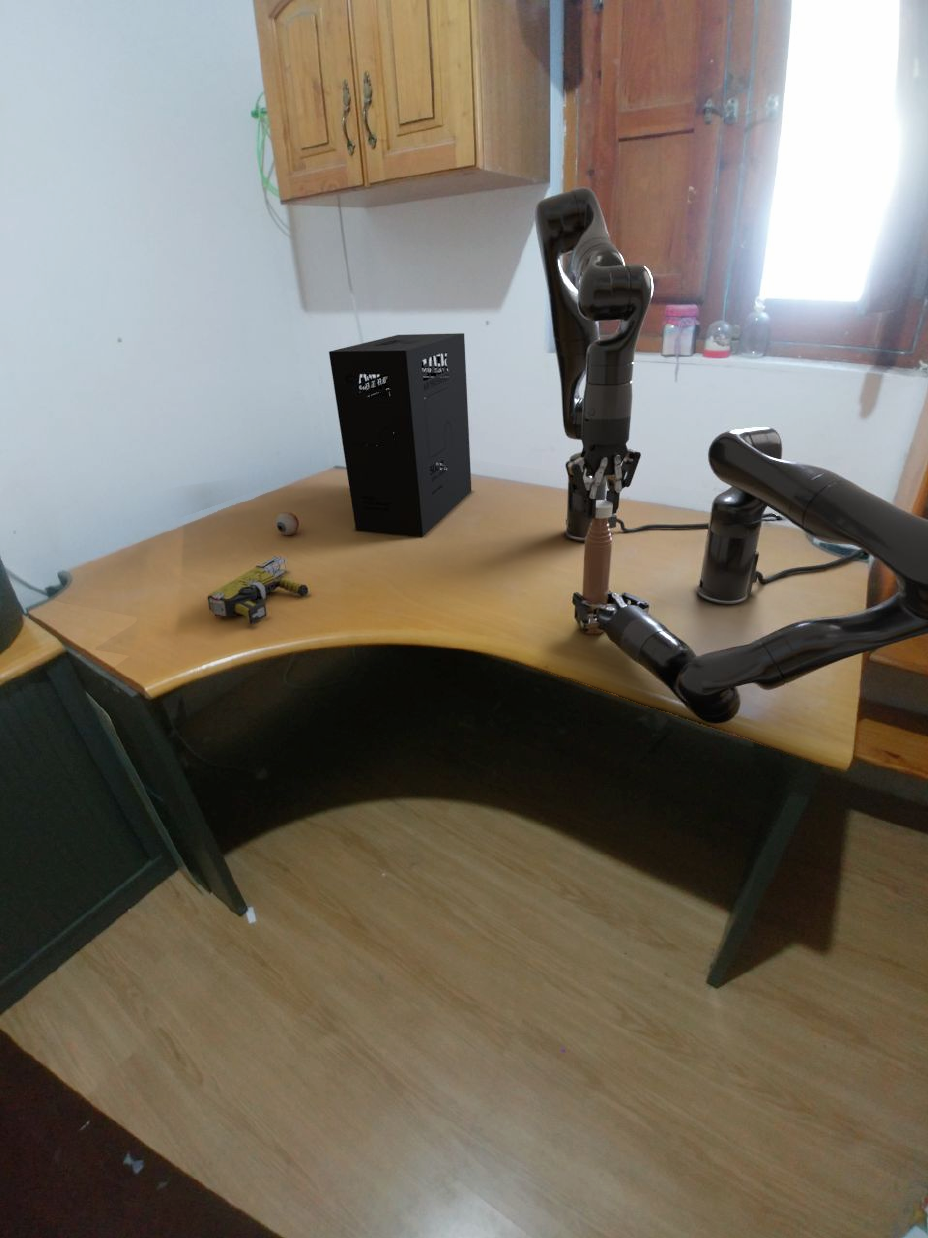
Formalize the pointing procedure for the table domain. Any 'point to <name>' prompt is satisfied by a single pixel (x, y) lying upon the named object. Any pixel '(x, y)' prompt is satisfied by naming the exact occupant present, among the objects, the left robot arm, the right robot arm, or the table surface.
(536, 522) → the table surface
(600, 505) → the cap
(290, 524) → the eyeball
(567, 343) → the left robot arm
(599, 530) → the bottle
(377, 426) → the cardboard box
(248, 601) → the toy gun
